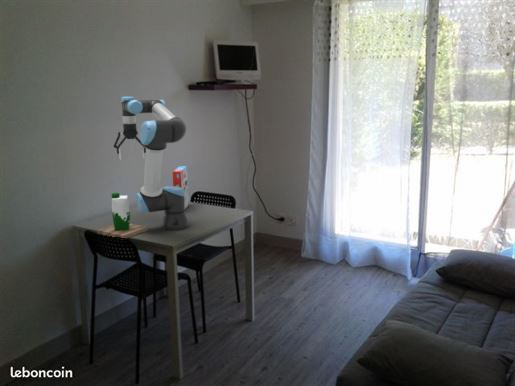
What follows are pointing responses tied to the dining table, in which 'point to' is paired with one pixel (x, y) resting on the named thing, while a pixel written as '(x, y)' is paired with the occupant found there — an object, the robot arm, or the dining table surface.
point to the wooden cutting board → (122, 231)
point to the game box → (181, 181)
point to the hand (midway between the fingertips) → (132, 158)
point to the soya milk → (120, 212)
